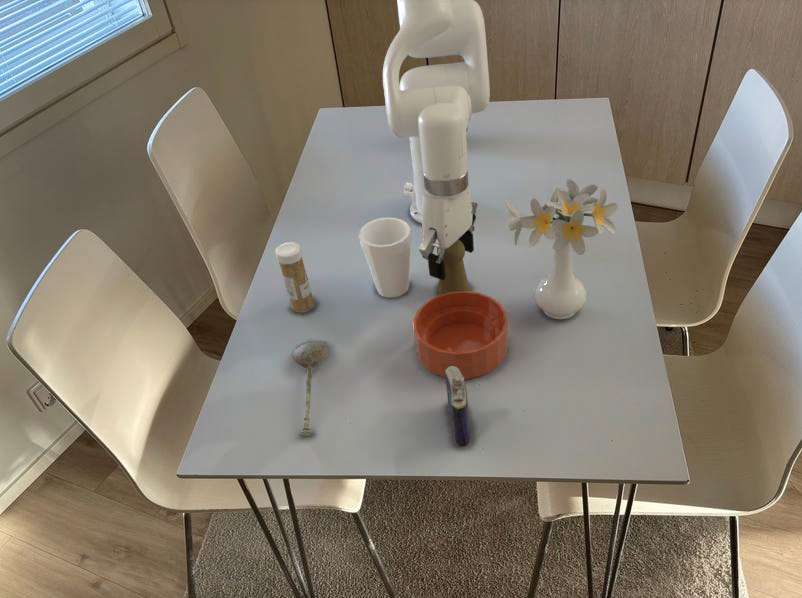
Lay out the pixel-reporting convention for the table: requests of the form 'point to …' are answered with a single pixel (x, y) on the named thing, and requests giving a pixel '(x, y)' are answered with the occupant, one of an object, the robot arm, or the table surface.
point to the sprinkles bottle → (295, 276)
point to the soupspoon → (309, 371)
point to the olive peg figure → (454, 269)
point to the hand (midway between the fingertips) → (452, 263)
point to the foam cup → (387, 254)
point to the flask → (458, 405)
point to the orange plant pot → (461, 333)
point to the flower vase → (564, 242)
